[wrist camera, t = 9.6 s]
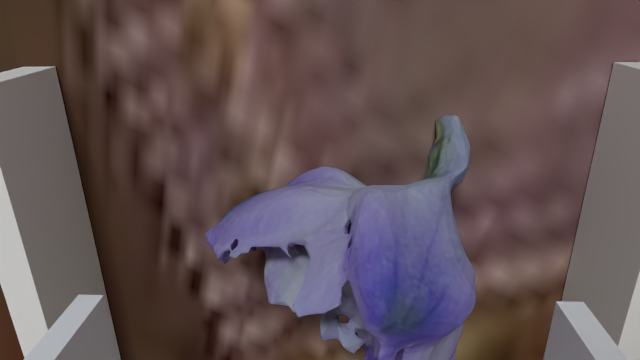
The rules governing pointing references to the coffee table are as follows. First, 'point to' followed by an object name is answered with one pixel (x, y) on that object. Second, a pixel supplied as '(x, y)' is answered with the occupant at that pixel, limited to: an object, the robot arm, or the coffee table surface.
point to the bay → (81, 255)
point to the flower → (366, 253)
